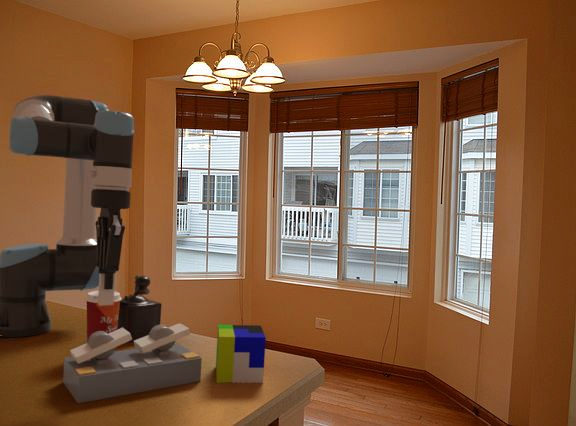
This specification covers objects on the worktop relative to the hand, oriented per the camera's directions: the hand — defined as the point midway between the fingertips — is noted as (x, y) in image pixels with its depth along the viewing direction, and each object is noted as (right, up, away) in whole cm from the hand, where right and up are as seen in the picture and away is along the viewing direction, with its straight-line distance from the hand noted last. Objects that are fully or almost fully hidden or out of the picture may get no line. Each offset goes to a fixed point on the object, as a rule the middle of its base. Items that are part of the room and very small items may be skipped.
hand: (105, 304), depth 103 cm
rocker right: (+10, -11, +8) cm, 17 cm away
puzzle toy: (+26, -18, +11) cm, 34 cm away
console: (+5, -17, +3) cm, 18 cm away
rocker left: (0, -11, +1) cm, 11 cm away
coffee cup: (-8, -16, +19) cm, 26 cm away
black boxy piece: (-4, -16, +35) cm, 39 cm away
